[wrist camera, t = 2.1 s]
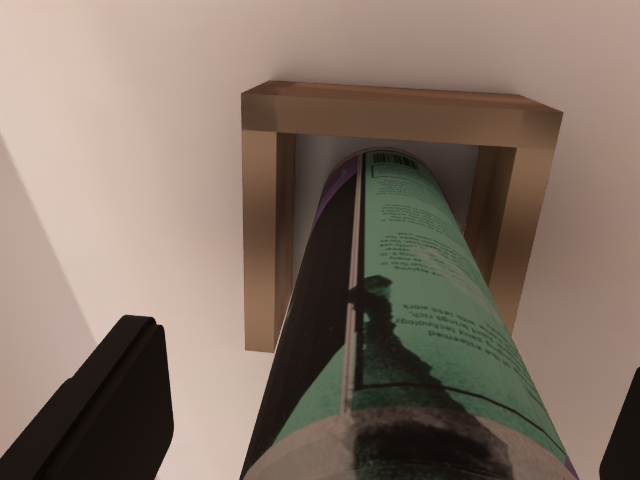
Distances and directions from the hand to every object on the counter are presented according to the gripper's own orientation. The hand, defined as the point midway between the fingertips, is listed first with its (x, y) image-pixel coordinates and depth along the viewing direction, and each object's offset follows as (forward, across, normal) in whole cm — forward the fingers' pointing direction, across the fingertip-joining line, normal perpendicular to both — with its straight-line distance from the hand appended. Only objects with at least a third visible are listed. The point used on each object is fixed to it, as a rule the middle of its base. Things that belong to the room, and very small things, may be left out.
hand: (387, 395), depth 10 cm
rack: (+14, 0, +1) cm, 14 cm away
